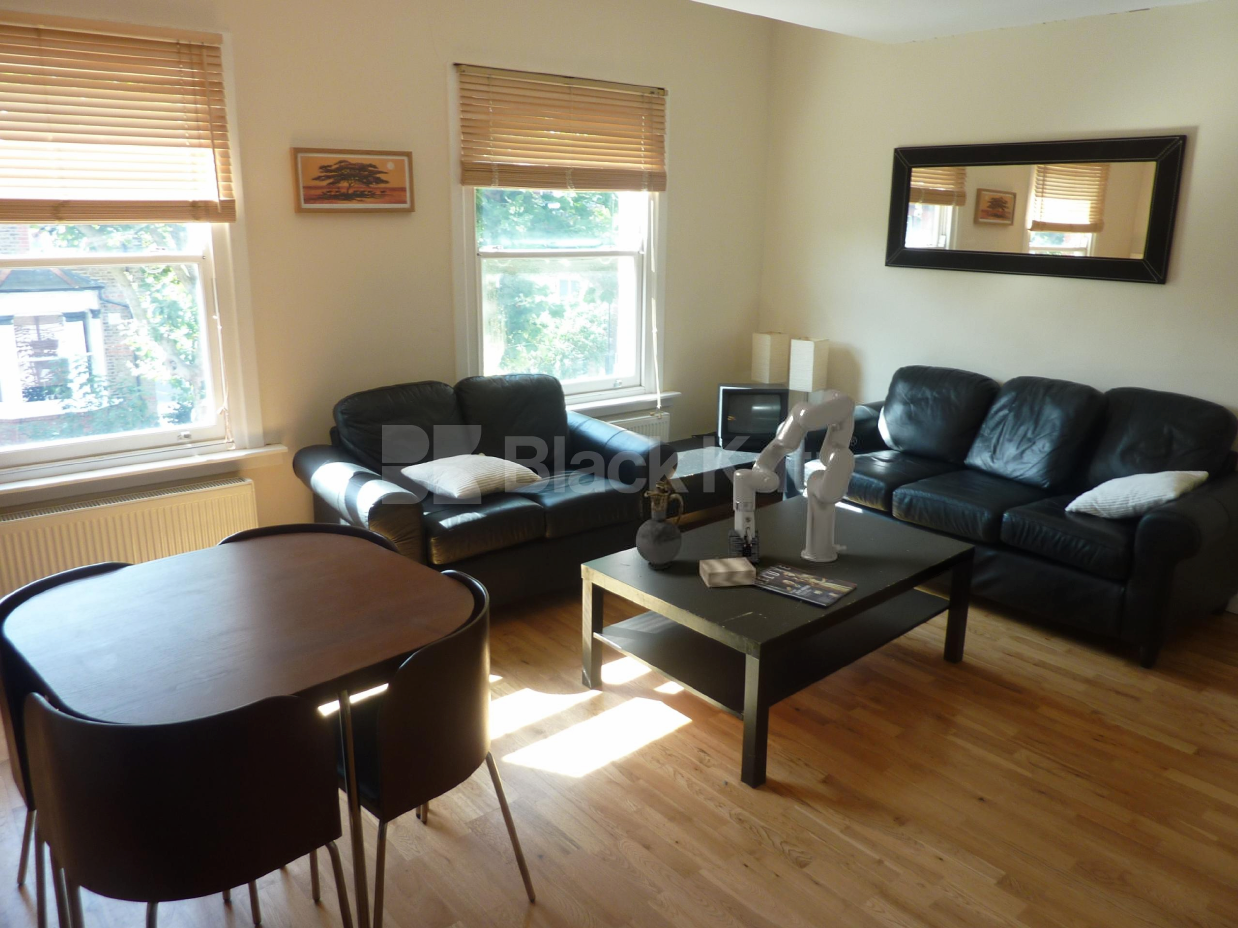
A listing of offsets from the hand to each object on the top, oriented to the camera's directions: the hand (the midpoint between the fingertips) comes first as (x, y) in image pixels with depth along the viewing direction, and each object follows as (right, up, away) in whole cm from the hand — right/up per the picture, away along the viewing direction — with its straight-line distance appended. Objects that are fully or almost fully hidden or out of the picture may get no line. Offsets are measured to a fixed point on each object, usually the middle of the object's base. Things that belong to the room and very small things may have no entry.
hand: (743, 552), depth 332 cm
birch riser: (-8, -7, -16) cm, 19 cm away
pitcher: (-29, -4, -2) cm, 29 cm away
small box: (0, -3, +1) cm, 3 cm away
